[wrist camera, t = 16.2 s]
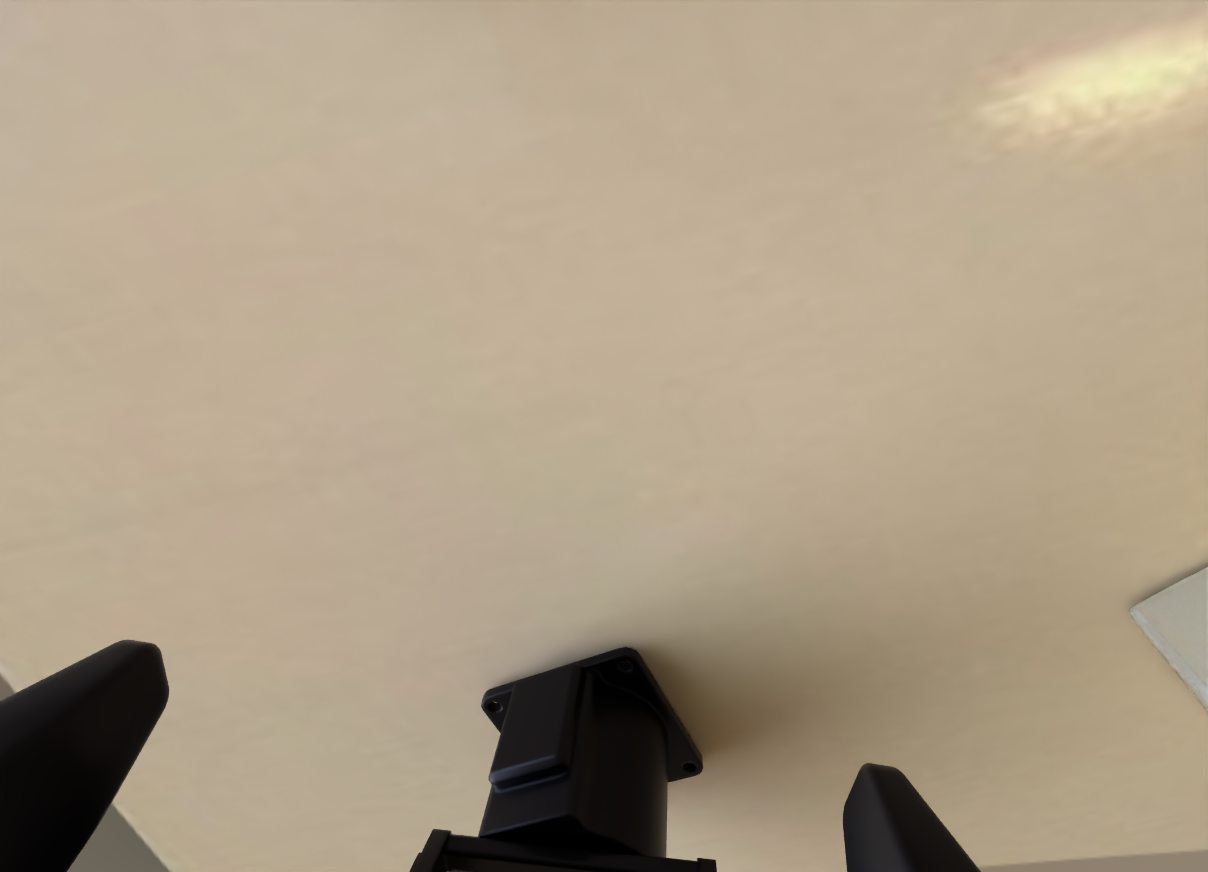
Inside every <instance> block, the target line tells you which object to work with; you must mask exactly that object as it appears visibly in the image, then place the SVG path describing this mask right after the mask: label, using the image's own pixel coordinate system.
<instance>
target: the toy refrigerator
mask: <svg viewBox="0 0 1208 872" xmlns="http://www.w3.org/2000/svg"><path fill="white" fill-rule="evenodd" d="M1130 614H1131V616H1132V618H1133V620H1134V621H1135V622H1136V623H1137V625H1138V626H1139V627H1140V629H1141V630H1142V631H1143V632H1144V634H1145V635H1146V636H1147V637H1148V639H1149V640H1150V641H1151V642H1152V644H1153V645H1154V646H1155V647H1156V649H1157V650H1158V651H1159V652H1160V653H1161V655H1162V656H1163V657H1164V658H1165V660H1166V661H1167V662H1168V663H1169V664H1170V666H1171V667H1172V668H1173V669H1174V671H1175V672H1176V673H1177V674H1178V676H1179V677H1180V678H1181V679H1182V680H1183V682H1184V683H1185V684H1186V685H1187V687H1188V688H1189V689H1190V690H1191V692H1192V693H1193V694H1194V695H1195V696H1196V698H1197V699H1198V700H1199V701H1200V703H1201V704H1202V705H1203V706H1204V707H1205V709H1206V710H1207V711H1208V567H1206V568H1204V569H1202V570H1200V571H1198V572H1197V573H1195V574H1193V575H1191V576H1189V577H1187V578H1185V579H1183V580H1181V581H1179V582H1177V583H1175V584H1173V585H1171V586H1170V587H1168V588H1166V589H1164V590H1162V591H1160V592H1159V593H1157V594H1155V595H1153V596H1151V597H1150V598H1148V599H1146V600H1144V601H1142V602H1140V603H1139V604H1137V605H1135V606H1133V607H1132V608H1131V610H1130Z"/></svg>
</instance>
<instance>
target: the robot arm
mask: <svg viewBox="0 0 1208 872" xmlns="http://www.w3.org/2000/svg"><path fill="white" fill-rule="evenodd" d="M622 661H629V662H631V663H624V662H622ZM168 697H169V685H168V681H167V676H166V672H165V668H164V663H163V659H162V654H161V651H160V649H159V648H158V647H157V646H156V645H155V644H152V643H147V642H141V641H135V640H122V641H119V642H117V643H114V644H112V645H110V646H108V647H106V648H104V649H102V650H100V651H98V652H97V653H95V654H93V655H91V656H89V657H87V658H85V659H83V660H81V661H79V662H77V663H75V664H73V665H71V666H69V667H67V668H65V669H63V670H61V671H59V672H57V673H55V674H53V675H51V676H49V677H47V678H45V679H43V680H41V681H39V682H37V683H35V684H33V685H31V686H29V687H27V688H25V689H23V690H21V691H19V692H17V693H15V694H14V695H11V696H9V697H7V698H6V699H4V700H1V701H0V872H67V871H68V869H69V868H70V866H71V864H72V863H73V862H74V860H75V859H76V857H77V856H78V855H79V853H80V852H81V850H82V849H83V847H84V846H85V844H86V843H87V841H88V840H89V838H90V837H91V835H92V834H93V832H94V831H95V829H96V828H97V826H98V825H99V823H100V821H101V820H102V818H103V816H104V815H105V813H106V811H107V810H108V808H109V806H110V805H111V803H112V801H113V799H114V798H115V796H116V794H117V792H118V790H119V789H120V787H121V785H122V783H123V782H124V780H125V778H126V776H127V775H128V773H129V771H130V769H131V767H132V766H133V764H134V762H135V760H136V759H137V757H138V755H139V753H140V752H141V750H142V748H143V746H144V744H145V743H146V741H147V739H148V737H149V736H150V734H151V732H152V730H153V728H154V727H155V725H156V723H157V721H158V720H159V718H160V716H161V714H162V713H163V711H164V709H165V707H166V704H167V701H168ZM494 702H497V703H494ZM481 707H482V709H483V711H484V712H485V713H486V715H487V716H488V717H489V719H490V720H491V721H492V722H493V724H494V725H495V726H496V728H497V729H498V730H499V732H500V733H501V734H500V738H499V741H498V745H497V749H496V752H495V756H494V759H493V763H492V767H491V770H490V774H489V781H490V783H491V784H492V787H491V790H490V794H489V798H488V801H487V805H486V809H485V813H484V816H483V820H482V824H481V827H480V831H479V835H478V837H473V836H463V835H454V834H451V831H448V830H439V829H433V830H432V832H431V834H430V836H429V839H428V841H427V843H426V845H425V847H424V849H423V851H422V853H419V854H418V855H417V857H416V859H415V861H414V863H413V865H412V868H411V870H410V872H717V869H716V860H712V859H703V858H697V861H691V860H682V859H672V858H666V840H667V787H668V782H672V781H676V780H680V779H684V778H688V777H692V776H696V775H698V774H700V773H701V772H702V769H703V758H702V755H701V753H700V752H699V750H698V749H697V747H696V745H695V744H694V742H693V740H692V739H691V737H690V736H689V734H688V732H687V731H686V729H685V727H684V726H683V724H682V723H681V721H680V719H679V718H678V716H677V714H676V713H675V711H674V709H673V708H672V706H671V705H670V703H669V701H668V700H667V698H666V696H665V695H664V693H663V692H662V690H661V688H660V687H659V685H658V683H657V682H656V680H655V679H654V677H653V675H652V674H651V672H650V670H649V669H648V667H647V666H646V664H645V662H644V661H643V659H642V657H641V656H640V654H639V653H638V652H637V651H636V650H634V649H632V648H628V647H623V648H619V649H616V650H612V651H609V652H606V653H603V654H600V655H597V656H593V657H590V658H587V659H584V660H581V661H578V662H575V663H571V664H568V665H565V666H562V667H559V668H556V669H553V670H549V671H546V672H543V673H540V674H537V675H534V676H530V677H527V678H524V679H521V680H518V681H515V682H512V683H508V684H505V685H502V686H499V687H496V688H493V689H490V690H488V691H486V693H485V694H484V697H483V700H482V704H481ZM843 829H844V840H845V852H846V863H847V872H981V871H980V870H979V869H978V867H977V866H976V865H975V864H974V862H973V861H972V860H971V859H970V857H969V856H968V855H967V854H966V852H965V851H964V850H963V849H962V847H961V846H960V845H959V843H958V842H957V841H956V840H955V838H954V837H953V836H952V835H951V833H950V832H949V831H948V830H947V828H946V827H945V826H944V825H943V823H942V822H941V821H940V819H939V818H938V817H937V816H936V814H935V813H934V812H933V811H932V809H931V808H930V807H929V806H928V804H927V803H926V802H925V801H924V799H923V798H922V797H921V795H920V794H919V793H918V792H917V790H916V789H915V788H914V787H913V785H912V784H911V783H910V782H909V780H908V779H907V778H906V777H905V775H904V774H903V773H902V772H901V771H899V770H898V769H897V768H894V767H890V766H884V765H878V764H872V763H866V764H864V765H863V766H862V767H861V769H860V770H859V772H858V775H857V777H856V779H855V782H854V784H853V786H852V789H851V791H850V793H849V796H848V798H847V800H846V803H845V806H844V812H843Z"/></svg>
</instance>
